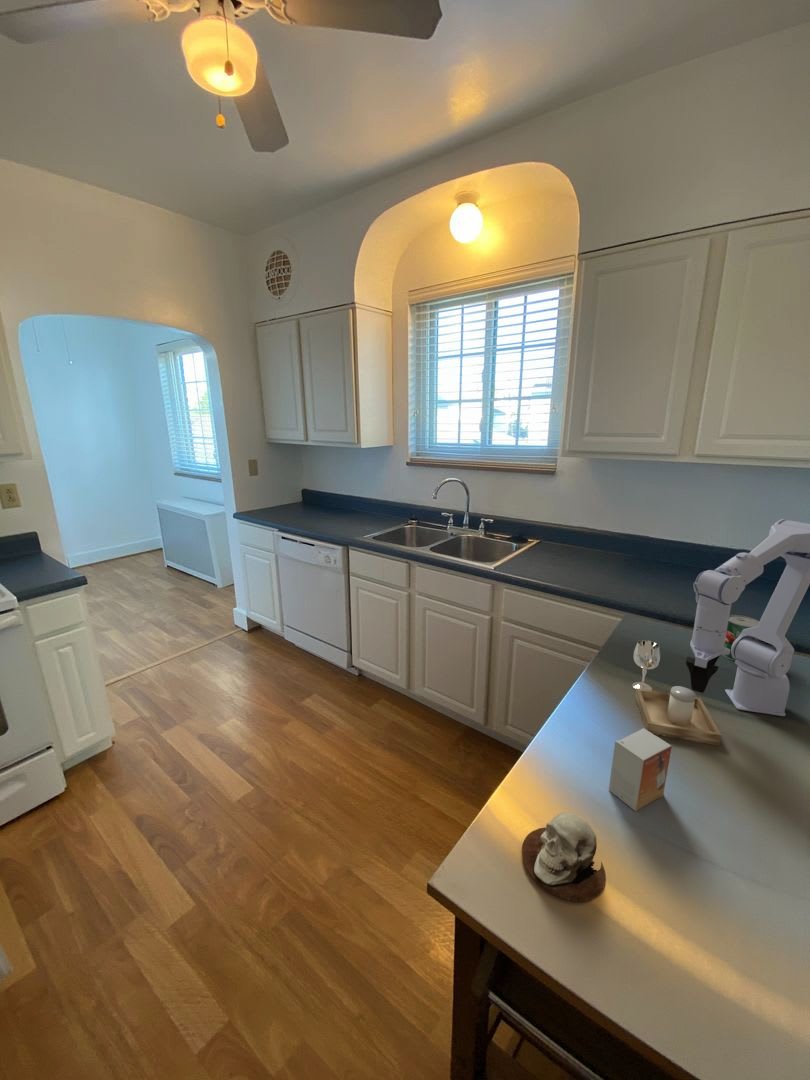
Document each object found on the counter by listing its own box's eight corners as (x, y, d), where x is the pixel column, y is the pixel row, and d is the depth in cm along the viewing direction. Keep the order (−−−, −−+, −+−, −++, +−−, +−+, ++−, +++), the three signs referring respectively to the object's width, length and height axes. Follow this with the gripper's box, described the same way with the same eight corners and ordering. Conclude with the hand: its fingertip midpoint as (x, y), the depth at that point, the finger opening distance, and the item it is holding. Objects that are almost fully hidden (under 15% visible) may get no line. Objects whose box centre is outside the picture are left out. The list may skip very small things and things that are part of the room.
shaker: (693, 719, 98) (698, 692, 97) (687, 729, 95) (692, 701, 94) (670, 710, 102) (674, 683, 100) (663, 719, 98) (668, 692, 97)
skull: (571, 922, 58) (536, 836, 62) (528, 908, 67) (499, 832, 71) (631, 877, 64) (595, 800, 68) (584, 869, 72) (554, 801, 76)
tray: (698, 707, 104) (700, 697, 104) (719, 745, 92) (721, 735, 91) (634, 697, 108) (635, 688, 107) (646, 733, 95) (648, 723, 95)
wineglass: (659, 694, 109) (666, 650, 106) (636, 693, 109) (642, 650, 106) (647, 681, 115) (654, 639, 112) (625, 681, 115) (631, 638, 112)
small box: (635, 813, 76) (643, 761, 73) (607, 790, 81) (614, 740, 78) (664, 795, 79) (673, 745, 77) (636, 774, 84) (643, 726, 82)
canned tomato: (761, 663, 123) (769, 627, 120) (733, 663, 123) (740, 627, 120) (741, 649, 131) (748, 614, 128) (714, 649, 131) (720, 615, 128)
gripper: (729, 644, 86) (717, 705, 90) (737, 620, 97) (727, 675, 100) (687, 634, 91) (678, 692, 94) (699, 611, 101) (690, 664, 105)
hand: (700, 682), depth 98 cm, fingers open, 7 cm apart
